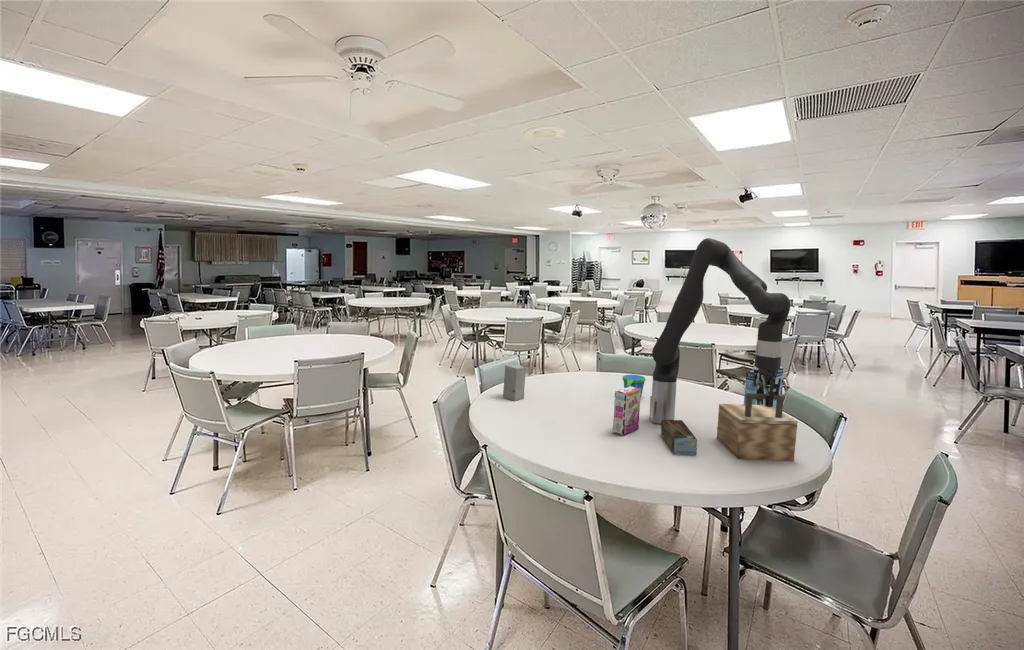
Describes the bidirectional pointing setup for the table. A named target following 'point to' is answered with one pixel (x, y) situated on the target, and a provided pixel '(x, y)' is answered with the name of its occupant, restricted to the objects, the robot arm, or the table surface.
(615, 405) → the candy bar box
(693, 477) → the table surface
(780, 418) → the lid
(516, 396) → the skincare box
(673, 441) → the beverage carton
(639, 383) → the snack cup
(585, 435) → the table surface
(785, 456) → the wooden box
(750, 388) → the gum box
